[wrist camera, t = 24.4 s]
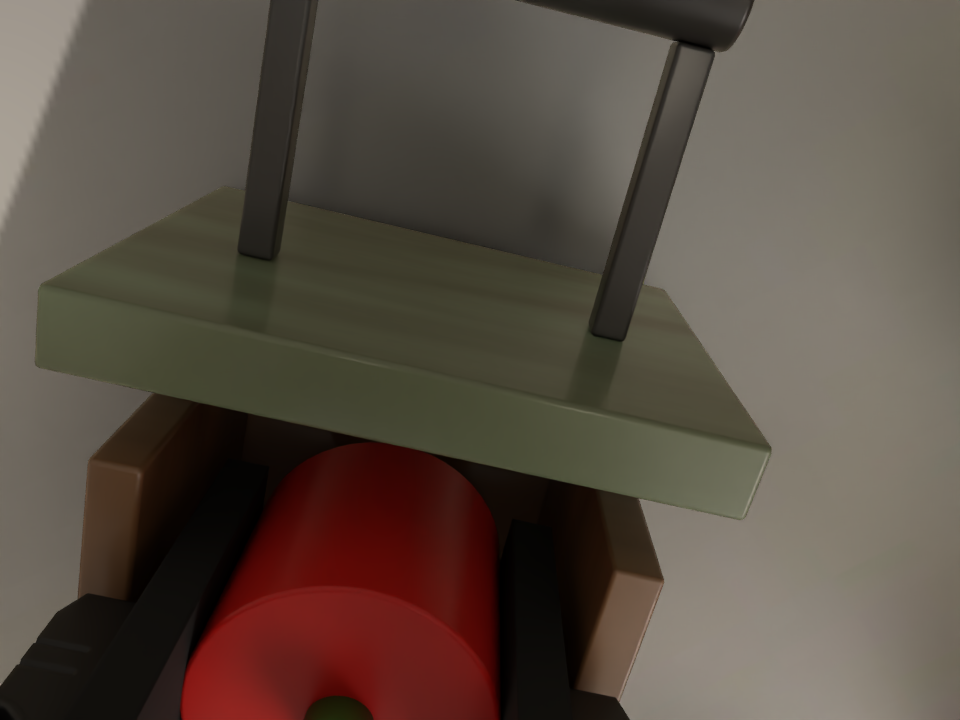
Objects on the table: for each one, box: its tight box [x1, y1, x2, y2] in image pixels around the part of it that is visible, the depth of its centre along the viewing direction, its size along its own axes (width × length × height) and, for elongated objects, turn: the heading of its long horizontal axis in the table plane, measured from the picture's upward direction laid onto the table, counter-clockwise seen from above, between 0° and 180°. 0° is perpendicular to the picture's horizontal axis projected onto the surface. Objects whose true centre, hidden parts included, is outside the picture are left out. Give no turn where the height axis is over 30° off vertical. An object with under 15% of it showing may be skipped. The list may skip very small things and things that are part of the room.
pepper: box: [180, 442, 501, 720], centre depth 13 cm, size 5×5×6 cm
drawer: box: [35, 0, 771, 702], centre depth 16 cm, size 19×10×8 cm, turn 167°
